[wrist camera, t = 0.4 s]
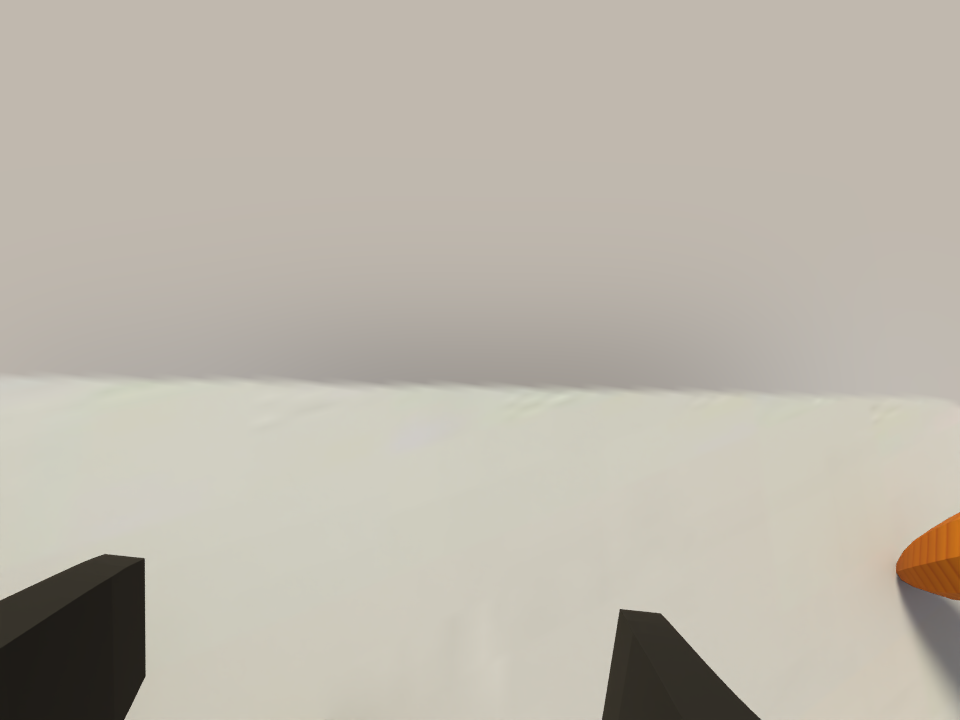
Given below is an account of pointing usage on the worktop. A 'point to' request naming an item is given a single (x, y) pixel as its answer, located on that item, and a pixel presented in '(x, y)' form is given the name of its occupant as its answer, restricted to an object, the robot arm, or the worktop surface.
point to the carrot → (934, 560)
